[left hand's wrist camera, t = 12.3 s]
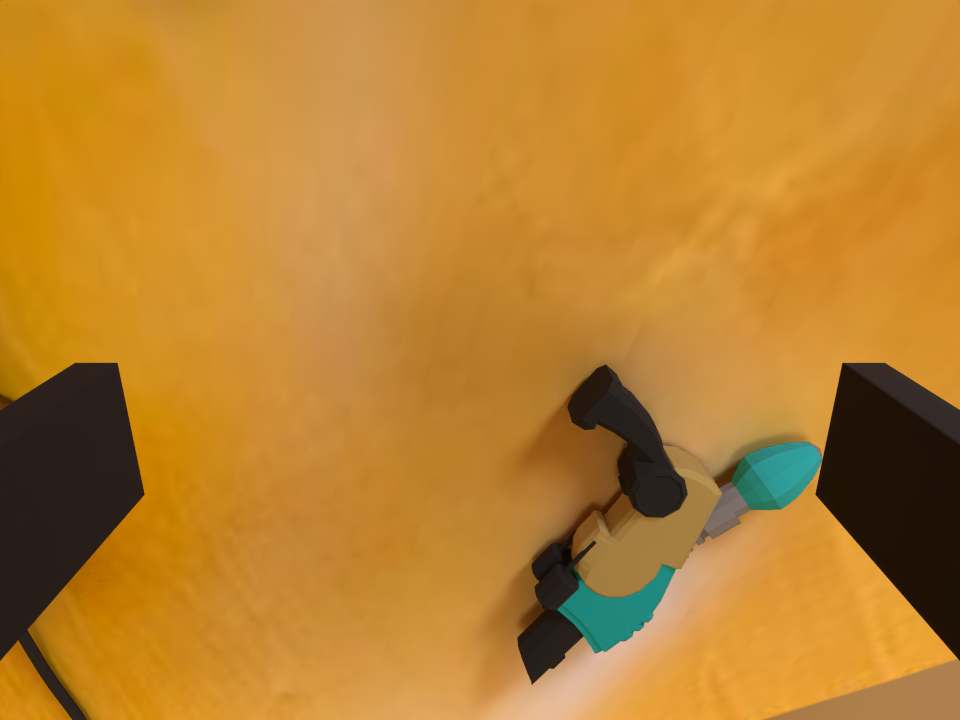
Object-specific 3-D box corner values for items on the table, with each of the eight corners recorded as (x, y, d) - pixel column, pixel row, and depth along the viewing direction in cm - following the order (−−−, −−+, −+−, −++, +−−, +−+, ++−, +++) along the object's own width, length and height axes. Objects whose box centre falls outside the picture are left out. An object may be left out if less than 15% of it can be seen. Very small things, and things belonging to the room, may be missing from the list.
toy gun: (396, 622, 44) (568, 727, 47) (670, 328, 37) (849, 475, 40) (402, 578, 48) (560, 676, 51) (650, 306, 41) (813, 440, 44)
